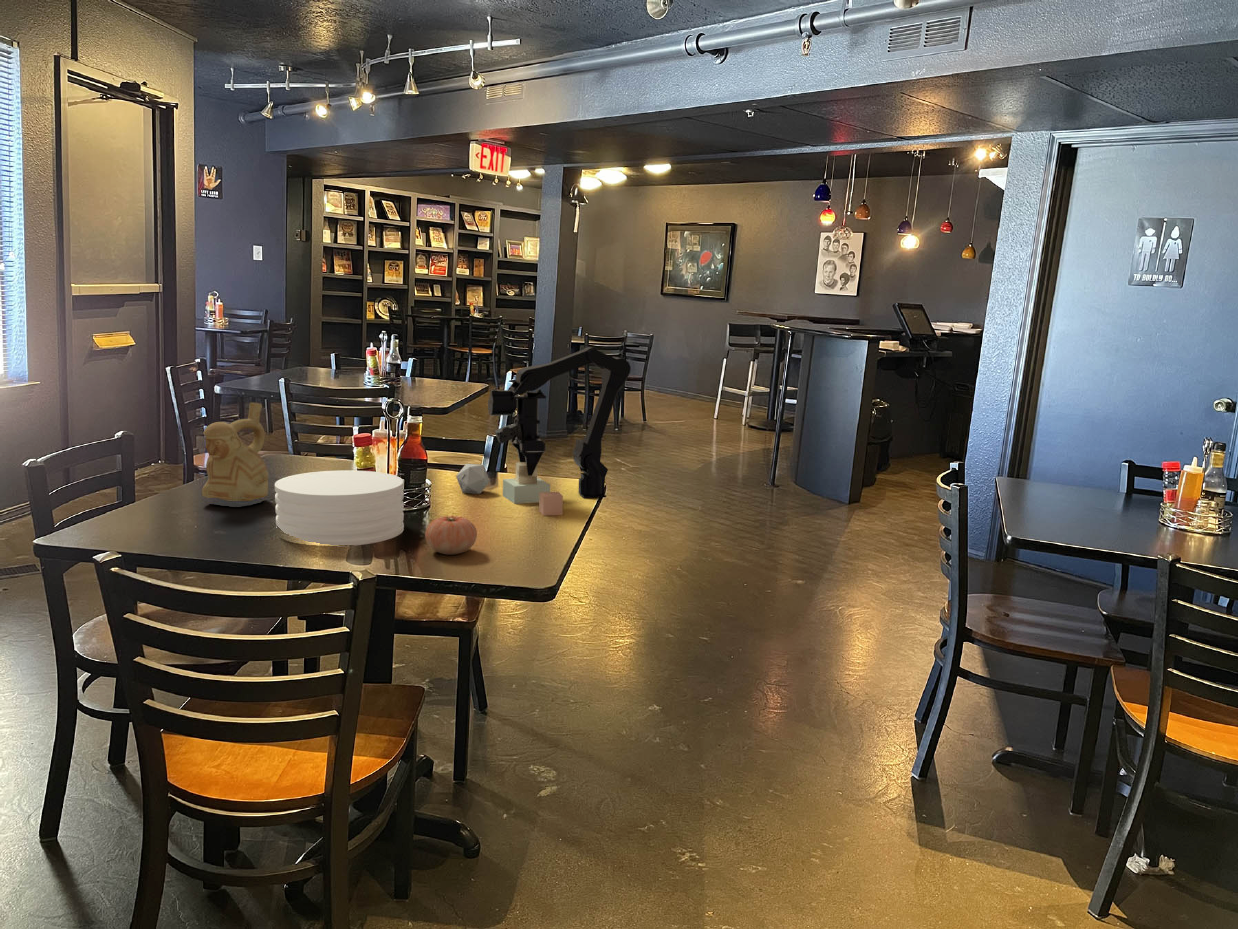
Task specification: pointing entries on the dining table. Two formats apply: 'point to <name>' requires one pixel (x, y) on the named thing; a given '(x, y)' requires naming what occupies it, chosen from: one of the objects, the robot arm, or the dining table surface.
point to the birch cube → (525, 474)
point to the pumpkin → (451, 535)
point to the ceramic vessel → (236, 460)
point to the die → (473, 478)
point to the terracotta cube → (550, 503)
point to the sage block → (524, 491)
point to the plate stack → (340, 506)
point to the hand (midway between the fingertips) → (526, 472)
